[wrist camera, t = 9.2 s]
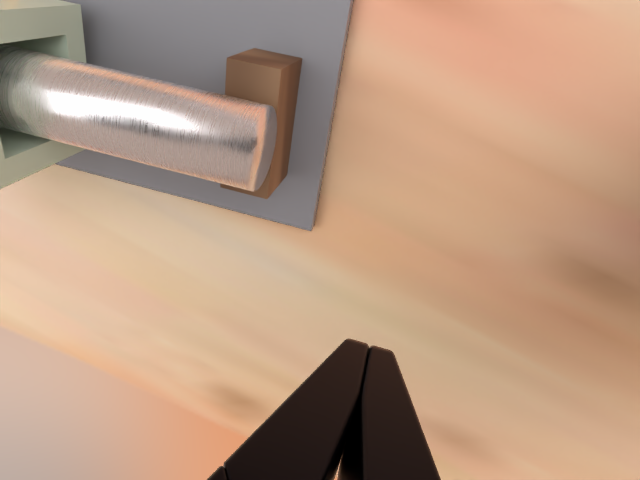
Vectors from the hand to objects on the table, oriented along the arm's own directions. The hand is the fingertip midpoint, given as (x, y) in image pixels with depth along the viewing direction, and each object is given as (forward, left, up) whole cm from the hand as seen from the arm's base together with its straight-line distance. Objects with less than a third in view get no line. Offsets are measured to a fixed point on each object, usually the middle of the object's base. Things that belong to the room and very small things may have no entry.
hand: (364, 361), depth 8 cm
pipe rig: (+14, 0, -13) cm, 19 cm away
